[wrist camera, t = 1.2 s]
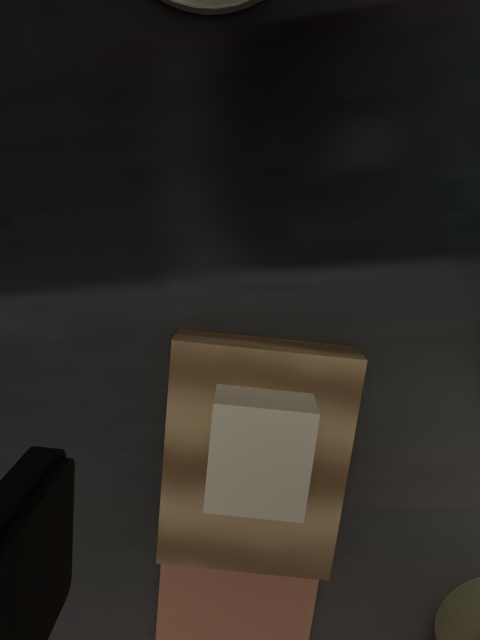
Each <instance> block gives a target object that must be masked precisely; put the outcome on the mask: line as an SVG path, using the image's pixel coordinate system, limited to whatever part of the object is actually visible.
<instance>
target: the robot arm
mask: <svg viewBox="0 0 480 640" xmlns="http://www.w3.org/2000/svg"><path fill="white" fill-rule="evenodd" d="M160 1H162V2H164V3H165V4H167V5H170V6H172V7H175V8H178V9H180V10H183V11H185V12H191V13H198V14H204V15H214V14H228V13H232V12H236V11H239V10H243V9H246V8H249V7H251V6H253V5H255V4H257V3H259V2H261V1H263V0H160ZM74 471H75V464H74V460H73V459H71V458H66V454H65V451H64V450H63V449H54V448H45V447H36V446H33V447H31V448H29V449H28V450H27V451H26V453H25V454H24V455H23V456H22V457H21V458H20V459H19V460H18V461H17V463H16V464H15V465H14V466H13V467H12V468H11V469H10V470H9V471H8V473H7V474H6V475H5V476H4V477H3V478H2V479H1V480H0V640H48V638H49V636H50V633H51V631H52V629H53V627H54V625H55V623H56V620H57V618H58V616H59V614H60V612H61V609H62V607H63V605H64V603H65V601H66V598H67V595H68V592H69V589H70V584H71V577H72V543H73V507H74Z"/></svg>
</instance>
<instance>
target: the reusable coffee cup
mask: <svg viewBox="0 0 480 640" xmlns="http://www.w3.org/2000/svg"><path fill="white" fill-rule="evenodd" d="M434 630H435V636H436V639H437V640H480V576H479V577H476V578H473V579H470V580H468V581H466V582H464V583H462V584H460V585H459V586H457V587H456V588H455V589H454V590H452V591H451V592H450V593H449V594H448V595H447V596H446V597H445V598H444V600H443V601H442V603H441V604H440V606H439V608H438V610H437V613H436V616H435V622H434Z"/></svg>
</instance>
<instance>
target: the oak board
mask: <svg viewBox="0 0 480 640" xmlns="http://www.w3.org/2000/svg"><path fill="white" fill-rule="evenodd" d="M367 361H368V360H367V359H366V358H365V357H364V355H363V354H362V353H361V352H360V350H359V349H358V348H357V347H356V346H346V345H337V344H327V343H317V342H308V341H298V340H288V339H278V338H269V337H259V336H249V335H240V334H230V333H220V332H211V331H201V330H191V329H182V328H179V329H178V331H177V332H176V334H175V335H174V337H173V339H172V340H171V355H170V369H169V383H168V398H167V412H166V426H165V441H164V455H163V469H162V484H161V498H160V512H159V527H158V541H157V555H156V563H157V564H167V565H177V566H187V567H197V568H206V569H216V570H226V571H236V572H246V573H256V574H266V575H276V576H286V577H296V578H305V579H315V580H325V581H330V575H331V569H332V563H333V557H334V552H335V546H336V540H337V534H338V529H339V523H340V517H341V511H342V506H343V500H344V494H345V488H346V482H347V477H348V471H349V465H350V459H351V454H352V448H353V442H354V436H355V431H356V425H357V419H358V413H359V407H360V402H361V396H362V390H363V384H364V379H365V373H366V367H367ZM217 384H224V385H233V386H243V387H253V388H263V389H272V390H282V391H292V392H302V393H311V394H313V395H314V398H315V401H316V403H317V406H318V409H319V412H320V420H319V427H318V433H317V440H316V446H315V453H314V460H313V466H312V473H311V479H310V486H309V492H308V499H307V505H306V512H305V518H304V523H295V522H285V521H276V520H266V519H256V518H246V517H236V516H226V515H216V514H207V513H203V506H204V496H205V485H206V475H207V464H208V453H209V443H210V432H211V422H212V411H213V402H214V397H215V391H216V386H217Z"/></svg>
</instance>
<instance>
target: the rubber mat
mask: <svg viewBox="0 0 480 640" xmlns="http://www.w3.org/2000/svg"><path fill="white" fill-rule="evenodd" d="M318 583H319V580H315V579H305V578H296V577H286V576H276V575H266V574H256V573H246V572H236V571H226V570H216V569H206V568H197V567H187V566H177V565H167V564H161V570H160V584H159V598H158V611H157V625H156V639H155V640H309V637H310V631H311V625H312V619H313V613H314V607H315V601H316V595H317V589H318Z"/></svg>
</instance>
